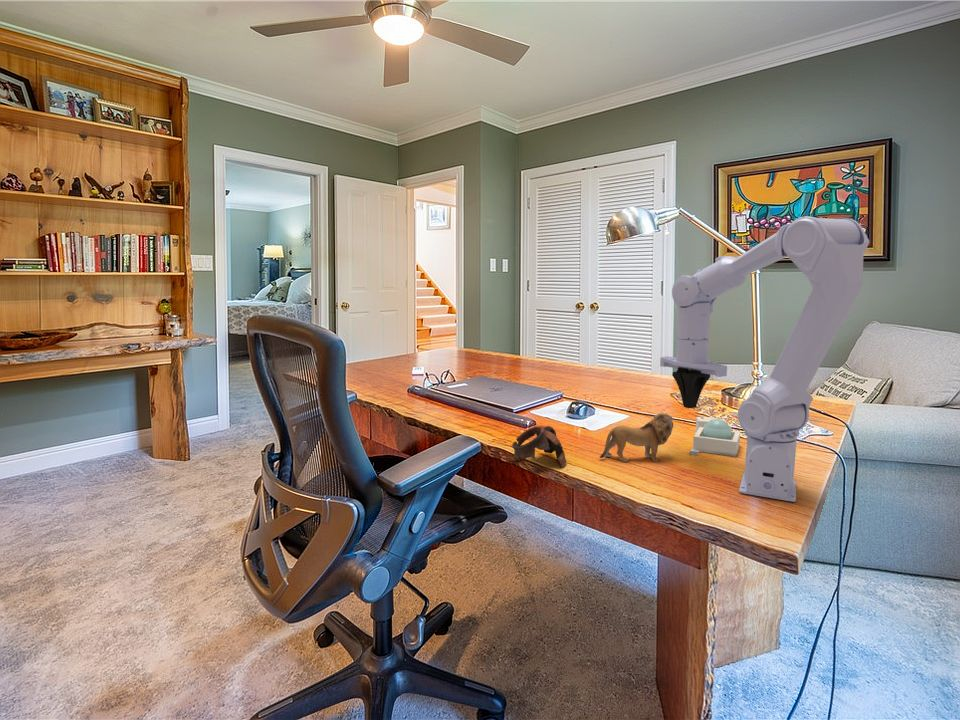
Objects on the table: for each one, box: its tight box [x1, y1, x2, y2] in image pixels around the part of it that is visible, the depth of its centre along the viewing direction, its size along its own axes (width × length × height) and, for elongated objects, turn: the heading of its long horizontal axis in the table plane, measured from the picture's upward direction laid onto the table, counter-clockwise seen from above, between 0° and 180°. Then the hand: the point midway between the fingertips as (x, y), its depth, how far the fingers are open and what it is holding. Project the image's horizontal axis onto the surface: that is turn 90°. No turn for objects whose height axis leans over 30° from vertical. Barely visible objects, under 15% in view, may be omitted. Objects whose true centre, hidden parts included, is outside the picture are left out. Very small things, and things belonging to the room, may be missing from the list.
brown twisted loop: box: [511, 425, 567, 469], centre depth 102 cm, size 12×10×8 cm
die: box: [695, 416, 717, 433], centre depth 116 cm, size 4×4×4 cm
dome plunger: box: [703, 418, 732, 440], centre depth 108 cm, size 5×5×5 cm
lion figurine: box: [599, 412, 674, 463], centre depth 102 cm, size 15×5×9 cm, turn 96°
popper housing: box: [692, 427, 741, 457], centre depth 108 cm, size 8×8×3 cm
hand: (689, 407), depth 103 cm, fingers closed
